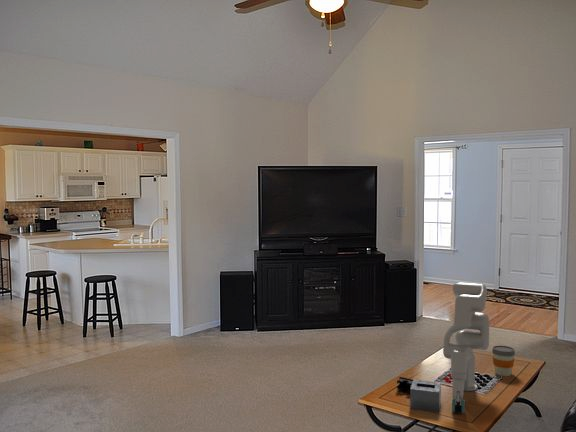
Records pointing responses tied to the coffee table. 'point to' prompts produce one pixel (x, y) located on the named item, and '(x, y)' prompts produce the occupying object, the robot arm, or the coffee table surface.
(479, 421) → the coffee table surface
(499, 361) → the reusable coffee cup
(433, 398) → the box
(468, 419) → the coffee table surface
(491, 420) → the coffee table surface
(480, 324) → the robot arm
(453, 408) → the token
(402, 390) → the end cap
